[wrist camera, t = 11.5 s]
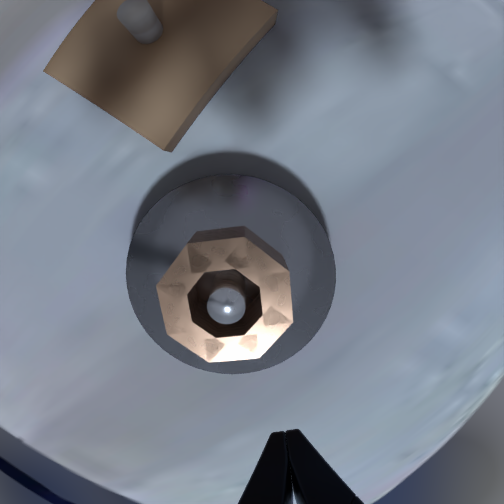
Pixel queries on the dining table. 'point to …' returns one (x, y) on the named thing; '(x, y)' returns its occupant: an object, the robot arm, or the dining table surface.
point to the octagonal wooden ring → (195, 309)
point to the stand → (158, 58)
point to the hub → (232, 281)
